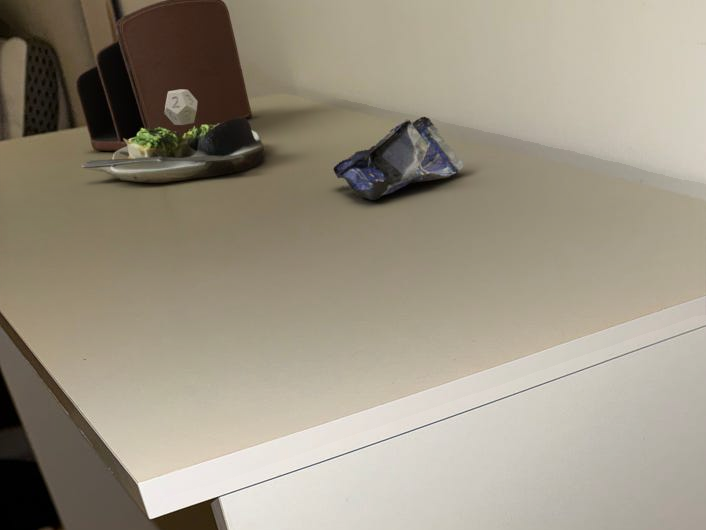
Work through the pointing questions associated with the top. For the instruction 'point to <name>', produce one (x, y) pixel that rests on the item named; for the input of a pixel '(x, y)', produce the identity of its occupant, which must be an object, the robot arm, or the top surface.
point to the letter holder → (163, 72)
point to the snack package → (399, 161)
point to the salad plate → (184, 153)
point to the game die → (181, 107)
